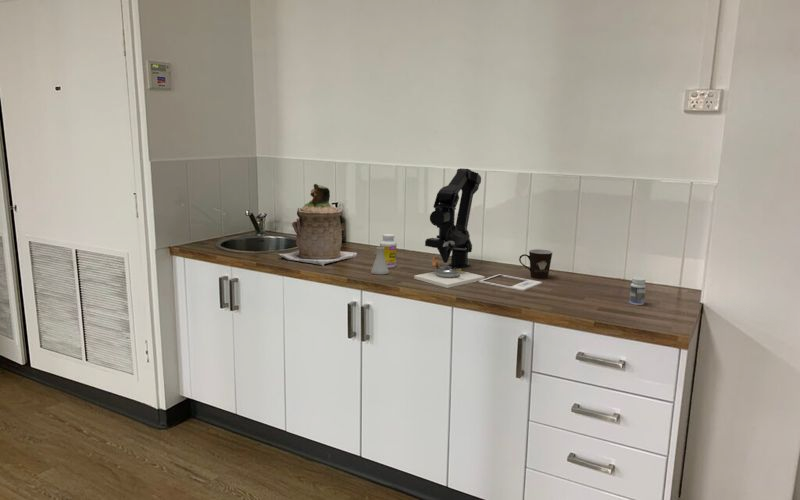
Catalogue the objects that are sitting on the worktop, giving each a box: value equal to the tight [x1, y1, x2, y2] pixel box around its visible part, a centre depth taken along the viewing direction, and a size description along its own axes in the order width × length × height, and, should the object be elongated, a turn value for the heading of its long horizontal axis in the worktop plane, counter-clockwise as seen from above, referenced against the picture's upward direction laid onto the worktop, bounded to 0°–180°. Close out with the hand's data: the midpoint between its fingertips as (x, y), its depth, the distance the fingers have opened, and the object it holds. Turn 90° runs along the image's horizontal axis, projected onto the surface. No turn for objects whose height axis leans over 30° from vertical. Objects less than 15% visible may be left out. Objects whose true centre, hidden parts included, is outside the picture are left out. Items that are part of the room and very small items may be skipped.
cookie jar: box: [278, 183, 358, 267], centre depth 260 cm, size 25×25×32 cm
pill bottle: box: [628, 276, 647, 306], centre depth 201 cm, size 5×5×8 cm
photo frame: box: [478, 273, 543, 292], centre depth 226 cm, size 15×1×18 cm
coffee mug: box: [518, 248, 554, 280], centre depth 235 cm, size 12×9×10 cm
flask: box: [370, 246, 390, 275], centre depth 237 cm, size 7×7×10 cm
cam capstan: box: [431, 256, 464, 278], centre depth 229 cm, size 16×9×6 cm, turn 42°
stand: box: [413, 268, 486, 289], centre depth 229 cm, size 20×17×2 cm
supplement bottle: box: [379, 233, 398, 269], centre depth 248 cm, size 7×7×13 cm
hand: (445, 262), depth 238 cm, fingers closed
